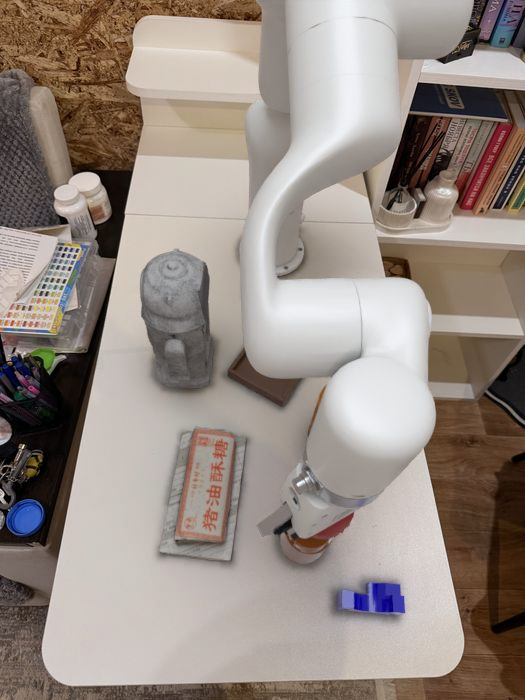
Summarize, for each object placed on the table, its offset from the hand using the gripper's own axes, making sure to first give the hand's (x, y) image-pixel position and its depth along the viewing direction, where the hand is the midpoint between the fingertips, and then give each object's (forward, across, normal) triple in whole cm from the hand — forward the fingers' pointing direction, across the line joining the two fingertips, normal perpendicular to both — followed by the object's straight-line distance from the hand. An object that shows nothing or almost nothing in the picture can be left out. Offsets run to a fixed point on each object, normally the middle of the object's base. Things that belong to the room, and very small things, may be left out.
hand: (318, 509), depth 58 cm
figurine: (+17, -3, +34) cm, 38 cm away
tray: (+17, +11, +27) cm, 33 cm away
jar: (+17, 0, 0) cm, 17 cm away
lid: (-3, 0, 0) cm, 3 cm away
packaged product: (+17, -9, +12) cm, 23 cm away
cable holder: (+17, +4, -11) cm, 20 cm away
